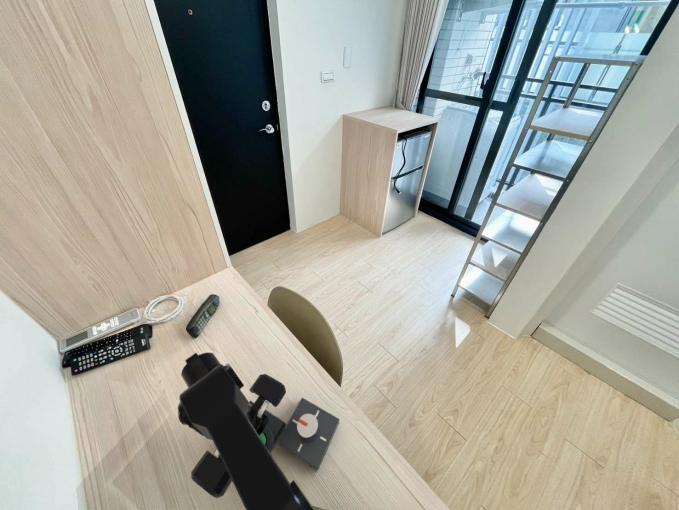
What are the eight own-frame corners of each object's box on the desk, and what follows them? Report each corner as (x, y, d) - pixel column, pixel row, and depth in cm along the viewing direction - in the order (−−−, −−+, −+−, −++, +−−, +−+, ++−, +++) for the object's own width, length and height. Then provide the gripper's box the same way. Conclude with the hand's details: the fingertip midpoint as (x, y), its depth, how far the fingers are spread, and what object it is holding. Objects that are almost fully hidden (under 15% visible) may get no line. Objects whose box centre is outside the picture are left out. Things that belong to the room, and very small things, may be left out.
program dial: (322, 424, 60) (321, 419, 57) (312, 446, 57) (310, 441, 54) (305, 415, 61) (303, 409, 58) (295, 435, 59) (292, 430, 56)
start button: (258, 456, 56) (256, 454, 54) (245, 446, 57) (243, 445, 55) (269, 438, 58) (267, 436, 57) (256, 429, 59) (254, 427, 58)
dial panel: (317, 470, 57) (316, 468, 54) (279, 445, 60) (276, 441, 58) (339, 422, 63) (339, 418, 61) (303, 401, 66) (302, 397, 64)
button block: (261, 475, 56) (256, 472, 53) (222, 447, 60) (216, 443, 57) (288, 426, 63) (286, 421, 60) (252, 403, 66) (248, 397, 63)
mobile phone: (191, 331, 75) (219, 289, 85) (182, 329, 75) (211, 287, 85) (198, 339, 78) (224, 298, 88) (189, 337, 79) (216, 296, 89)
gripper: (234, 347, 52) (252, 378, 63) (148, 450, 41) (188, 467, 51) (281, 373, 49) (292, 401, 60) (201, 495, 37) (233, 503, 48)
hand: (253, 438), depth 55 cm, fingers closed
